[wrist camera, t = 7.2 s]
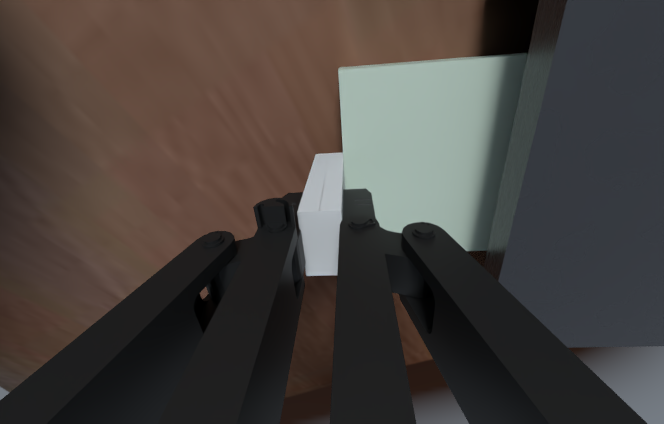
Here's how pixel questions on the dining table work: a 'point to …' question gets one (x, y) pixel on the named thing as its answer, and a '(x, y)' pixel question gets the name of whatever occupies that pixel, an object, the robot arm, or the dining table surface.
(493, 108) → the mint green panel
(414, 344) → the dining table surface
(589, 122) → the riser
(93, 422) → the robot arm
